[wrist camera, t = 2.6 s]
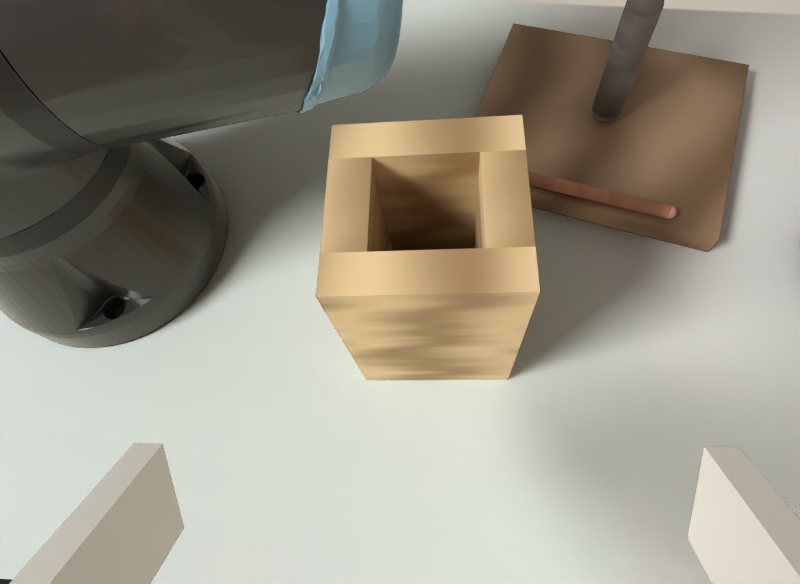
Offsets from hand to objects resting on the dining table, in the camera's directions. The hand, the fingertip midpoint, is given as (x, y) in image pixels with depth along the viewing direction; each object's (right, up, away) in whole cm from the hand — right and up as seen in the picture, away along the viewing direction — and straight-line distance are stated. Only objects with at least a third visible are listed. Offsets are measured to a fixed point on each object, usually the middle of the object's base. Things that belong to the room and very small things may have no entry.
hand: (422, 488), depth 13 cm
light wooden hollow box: (+2, +4, +18) cm, 19 cm away
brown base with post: (+13, +16, +22) cm, 30 cm away
